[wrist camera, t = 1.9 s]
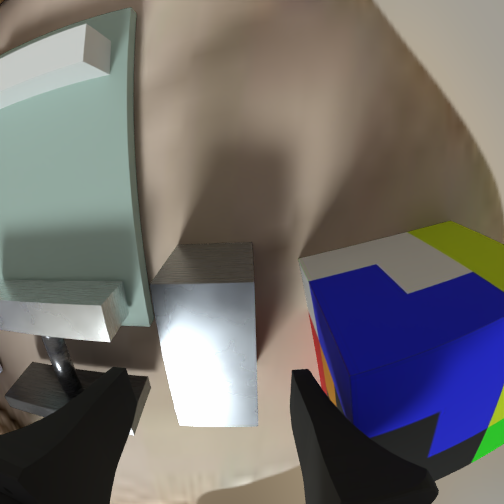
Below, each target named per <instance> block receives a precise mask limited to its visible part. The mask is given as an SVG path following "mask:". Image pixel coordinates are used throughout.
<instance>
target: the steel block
mask: <svg viewBox="0 0 504 504" xmlns="http://www.w3.org/2000/svg"><path fill="white" fill-rule="evenodd" d="M150 289H151V295H152V301H153V307H154V313H155V318H156V324H157V329H158V334H159V339H160V344H161V349H162V354H163V359H164V363H165V368H166V372H167V376H168V381H169V385H170V389H171V393H172V397H173V401H174V405H175V409H176V413H177V416H178V420H179V424H180V425H184V426H208V427H251V426H258V400H257V363H256V326H255V290H254V268H253V251H252V242H243V243H212V244H184V245H177V247H176V248H175V249H174V251H173V252H172V254H171V255H170V256H169V258H168V259H167V261H166V262H165V263H164V265H163V266H162V268H161V269H160V270H159V272H158V273H157V275H156V276H155V278H154V279H153V280H152V282H151V283H150Z"/></svg>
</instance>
